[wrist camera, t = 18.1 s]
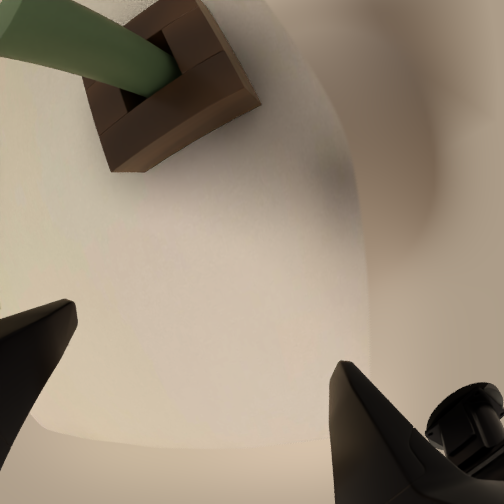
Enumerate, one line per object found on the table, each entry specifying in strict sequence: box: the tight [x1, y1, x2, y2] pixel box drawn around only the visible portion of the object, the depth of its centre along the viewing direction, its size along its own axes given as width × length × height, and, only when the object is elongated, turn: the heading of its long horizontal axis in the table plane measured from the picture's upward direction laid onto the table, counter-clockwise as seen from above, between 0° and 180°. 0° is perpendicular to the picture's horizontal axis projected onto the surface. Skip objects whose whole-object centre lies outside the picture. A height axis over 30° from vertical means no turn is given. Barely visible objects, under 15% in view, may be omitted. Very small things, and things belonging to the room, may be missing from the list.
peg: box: [0, 0, 183, 98], centre depth 12 cm, size 3×3×15 cm
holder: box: [82, 0, 262, 172], centre depth 18 cm, size 10×10×4 cm
